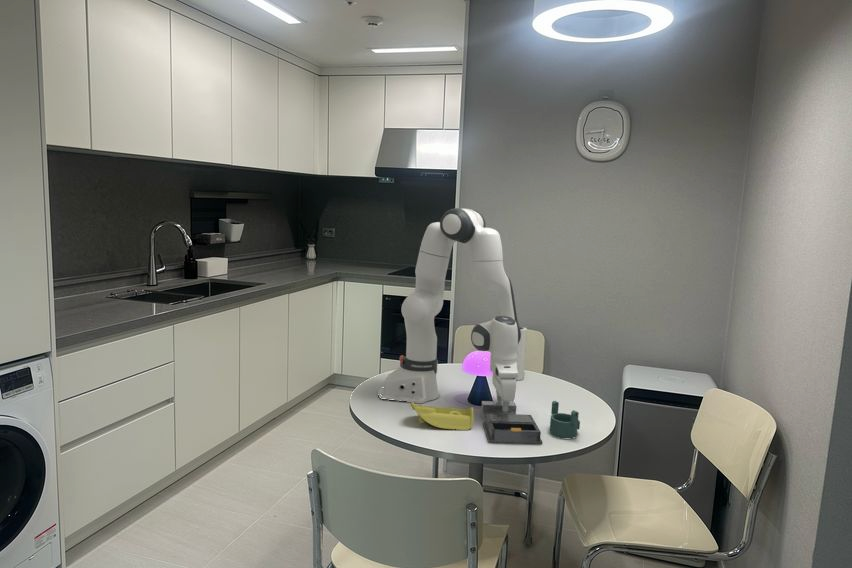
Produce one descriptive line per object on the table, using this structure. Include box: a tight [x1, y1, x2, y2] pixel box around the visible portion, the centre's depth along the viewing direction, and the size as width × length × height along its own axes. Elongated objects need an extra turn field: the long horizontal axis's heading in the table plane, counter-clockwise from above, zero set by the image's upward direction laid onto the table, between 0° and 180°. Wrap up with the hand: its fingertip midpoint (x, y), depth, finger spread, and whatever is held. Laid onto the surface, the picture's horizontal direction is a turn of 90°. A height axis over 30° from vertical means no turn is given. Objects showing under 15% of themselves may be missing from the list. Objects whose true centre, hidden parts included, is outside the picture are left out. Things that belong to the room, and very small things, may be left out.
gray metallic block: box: [480, 400, 517, 420], centre depth 185 cm, size 11×4×5 cm, turn 90°
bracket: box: [549, 400, 581, 439], centre depth 173 cm, size 9×9×9 cm
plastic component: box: [409, 402, 474, 431], centre depth 178 cm, size 20×7×10 cm
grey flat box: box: [482, 413, 543, 445], centre depth 171 cm, size 16×14×4 cm
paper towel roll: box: [516, 326, 528, 381], centre depth 229 cm, size 7×6×21 cm
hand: (502, 406), depth 185 cm, fingers open, 8 cm apart
